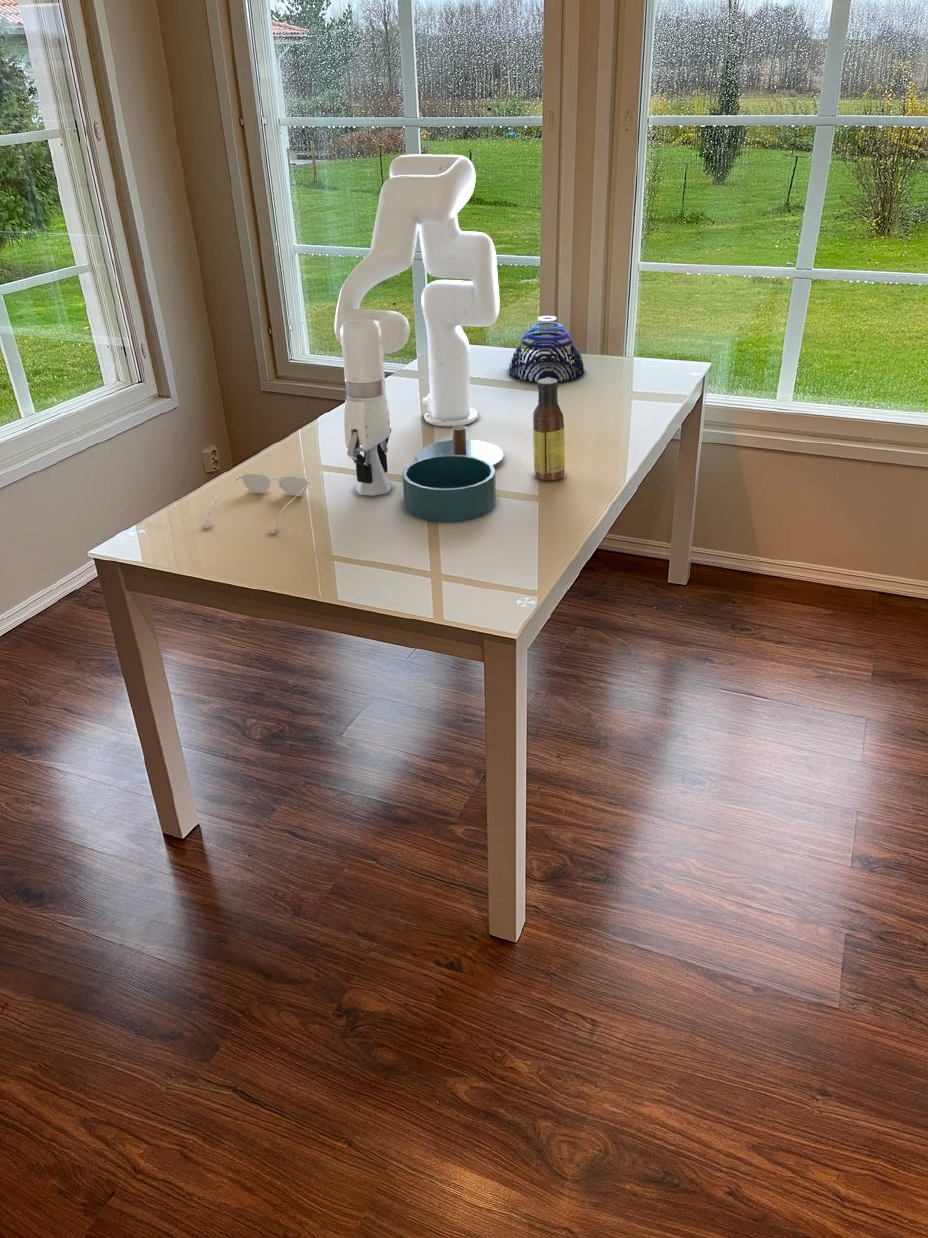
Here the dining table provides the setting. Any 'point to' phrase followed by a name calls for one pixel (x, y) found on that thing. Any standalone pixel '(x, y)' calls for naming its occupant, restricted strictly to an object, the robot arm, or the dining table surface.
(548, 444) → the sauce bottle
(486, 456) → the lid
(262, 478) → the eyeglasses
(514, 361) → the decorative bowl
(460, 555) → the dining table surface
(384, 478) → the flask
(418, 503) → the pot
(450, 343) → the robot arm
